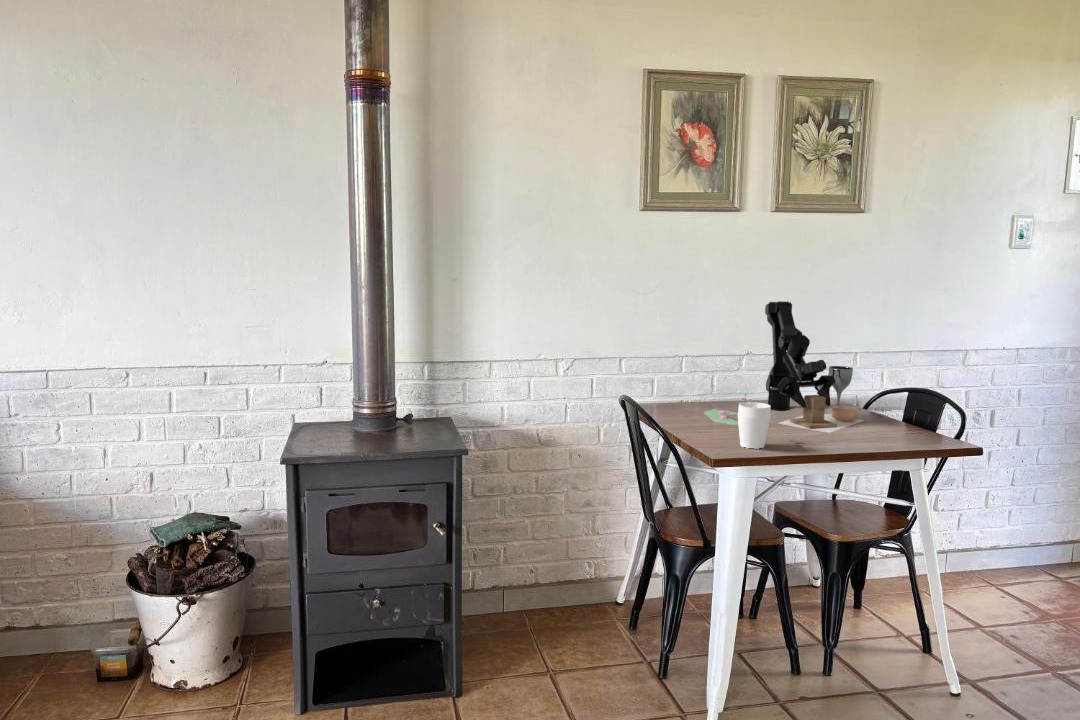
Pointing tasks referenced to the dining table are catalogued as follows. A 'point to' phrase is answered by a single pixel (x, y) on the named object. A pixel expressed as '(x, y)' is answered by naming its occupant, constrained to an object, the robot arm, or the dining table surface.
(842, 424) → the mat
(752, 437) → the cup
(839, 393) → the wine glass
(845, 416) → the bowl
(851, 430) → the dining table surface
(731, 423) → the plant
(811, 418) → the lid
